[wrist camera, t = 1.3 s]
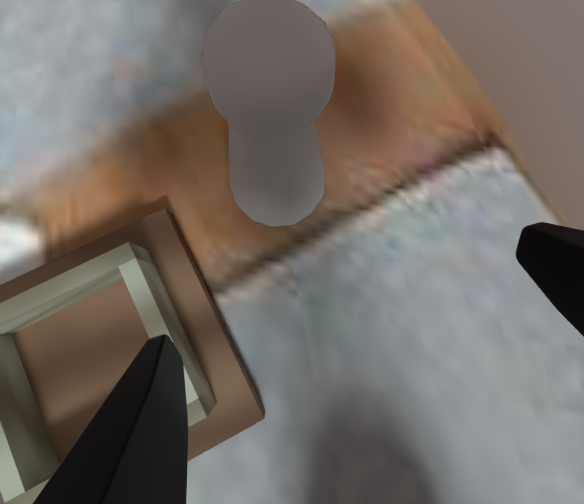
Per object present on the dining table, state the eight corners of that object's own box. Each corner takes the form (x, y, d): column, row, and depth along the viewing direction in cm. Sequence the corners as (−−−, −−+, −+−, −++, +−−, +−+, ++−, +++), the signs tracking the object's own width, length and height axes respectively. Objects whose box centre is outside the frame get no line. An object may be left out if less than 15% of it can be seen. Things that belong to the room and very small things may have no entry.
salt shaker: (315, 149, 23) (354, -53, 10) (326, 229, 22) (385, 118, 9) (231, 158, 23) (161, -38, 10) (239, 239, 22) (173, 139, 9)
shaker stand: (265, 412, 20) (260, 435, 16) (43, 535, 19) (-17, 591, 15) (171, 213, 22) (148, 194, 18) (-36, 311, 21) (-106, 312, 17)
